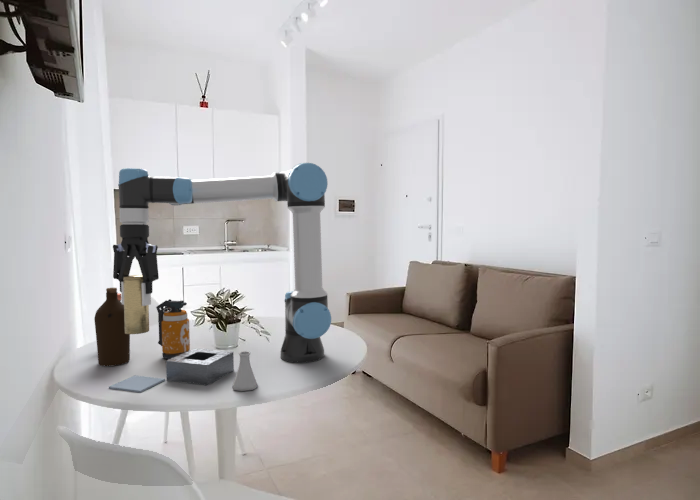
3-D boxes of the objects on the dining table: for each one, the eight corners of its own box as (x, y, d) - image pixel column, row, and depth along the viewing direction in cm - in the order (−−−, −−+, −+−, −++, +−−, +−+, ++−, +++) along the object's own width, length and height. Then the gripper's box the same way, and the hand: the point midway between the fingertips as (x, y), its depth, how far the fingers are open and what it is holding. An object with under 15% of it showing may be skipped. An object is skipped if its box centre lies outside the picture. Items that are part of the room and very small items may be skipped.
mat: (165, 380, 136) (165, 378, 136) (140, 392, 126) (140, 390, 126) (134, 376, 139) (134, 375, 139) (108, 388, 130) (108, 386, 130)
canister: (180, 361, 154) (179, 302, 153) (151, 359, 157) (149, 301, 155) (195, 353, 163) (193, 298, 162) (167, 352, 165) (165, 297, 164)
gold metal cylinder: (154, 329, 134) (152, 275, 133) (137, 335, 128) (136, 278, 127) (136, 328, 136) (134, 274, 135) (119, 333, 130) (118, 277, 129)
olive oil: (137, 361, 154) (134, 287, 153) (103, 369, 146) (100, 291, 145) (123, 355, 161) (121, 285, 160) (91, 362, 153) (88, 288, 152)
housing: (233, 370, 145) (233, 351, 145) (207, 385, 132) (207, 364, 131) (195, 366, 149) (195, 348, 149) (166, 380, 136) (166, 360, 135)
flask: (260, 382, 134) (259, 349, 133) (255, 391, 127) (255, 356, 126) (235, 382, 134) (234, 349, 133) (229, 392, 127) (228, 356, 126)
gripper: (171, 223, 131) (173, 304, 132) (117, 223, 136) (119, 300, 138) (153, 223, 124) (155, 308, 125) (96, 223, 129) (98, 304, 131)
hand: (136, 304), depth 131 cm, fingers closed on gold metal cylinder, 6 cm apart
